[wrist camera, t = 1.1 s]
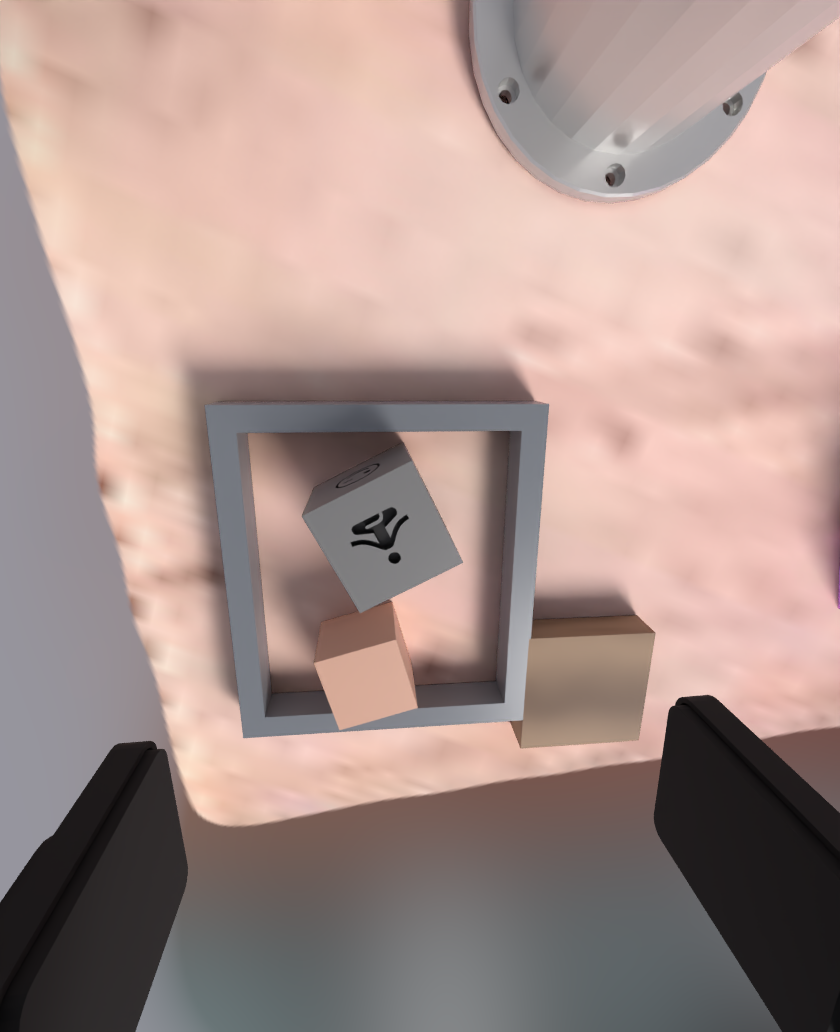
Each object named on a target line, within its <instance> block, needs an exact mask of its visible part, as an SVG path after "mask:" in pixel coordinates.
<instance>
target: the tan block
mask: <svg viewBox="0 0 840 1032" xmlns="http://www.w3.org/2000/svg"><path fill="white" fill-rule="evenodd" d="M654 639H655V632H654V631H653V630H652V629H651V628H650V627H649V626H648V625H647V624H645V623H644V622H643V621H642V620H641V619H640V618H639V617H638V616H637V615H631V616H608V617H585V618H563V619H540V620H532V631H531V639H529V647H528V660H527V673H526V686H525V699H524V712H523V720H520V721H511V725H512V728H513V730H514V733H515V735H516V738H517V740H518V743H519V745H520V748H535V747H549V746H564V745H578V744H593V743H607V742H622V741H636V740H639V734H640V728H641V722H642V715H643V709H644V703H645V696H646V690H647V684H648V677H649V671H650V665H651V658H652V652H653V646H654Z"/></svg>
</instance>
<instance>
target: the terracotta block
mask: <svg viewBox="0 0 840 1032" xmlns="http://www.w3.org/2000/svg"><path fill="white" fill-rule="evenodd" d="M314 665H315V668H316V670H317V673H318V676H319V678H320V681H321V683H322V686H323V689H324V691H325V694H326V696H327V699H328V702H329V704H330V707H331V709H332V712H333V715H334V717H335V720H336V722H337V725H338V728H339V730H343V729H346V728H350V727H353V726H357V725H360V724H364V723H367V722H371V721H374V720H378V719H381V718H384V717H388V716H391V715H395V714H398V713H402V712H405V711H409V710H412V709H416V708H418V706H417V699H416V692H415V685H414V677H413V670H412V663H411V660H410V657H409V653H408V650H407V647H406V644H405V641H404V637H403V634H402V631H401V628H400V625H399V621H398V618H397V615H396V612H395V609H394V606H393V602H390V603H386V604H382V605H379V606H375V607H372V608H370V609H368V610H366V611H364V612H362V613H360V612H359V611H358V612H354V613H351V614H347V615H344V616H340V617H337V618H333V619H330V620H326V621H323V622H321V626H320V632H319V637H318V643H317V648H316V653H315V659H314Z"/></svg>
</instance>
